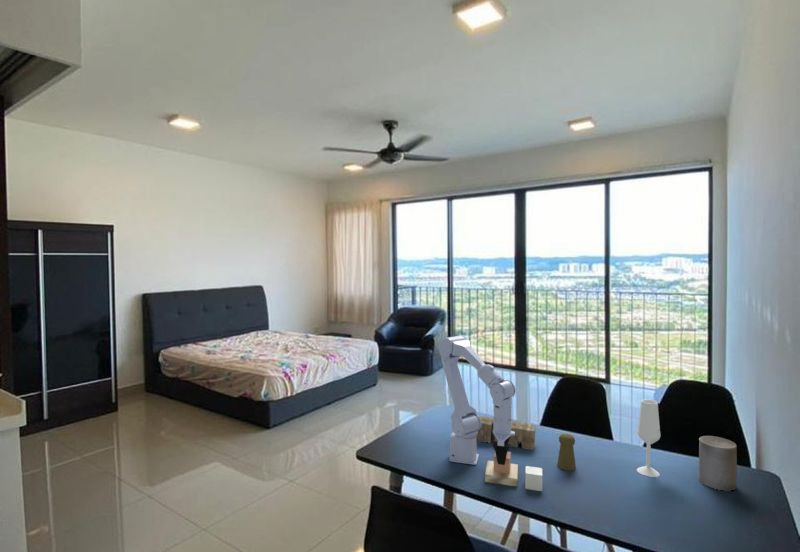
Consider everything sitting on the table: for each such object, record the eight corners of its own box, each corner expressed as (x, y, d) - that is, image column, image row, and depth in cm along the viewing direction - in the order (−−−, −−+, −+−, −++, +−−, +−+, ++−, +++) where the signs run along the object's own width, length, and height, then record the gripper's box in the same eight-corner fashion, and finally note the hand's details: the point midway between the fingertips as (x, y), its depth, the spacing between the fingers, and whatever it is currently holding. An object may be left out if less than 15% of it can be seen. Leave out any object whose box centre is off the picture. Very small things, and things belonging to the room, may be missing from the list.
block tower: (535, 445, 166) (462, 431, 177) (536, 424, 166) (463, 411, 177) (533, 453, 159) (457, 438, 170) (534, 431, 158) (458, 417, 170)
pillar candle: (729, 479, 138) (729, 433, 138) (742, 494, 129) (742, 445, 128) (694, 474, 141) (694, 430, 141) (704, 489, 132) (704, 441, 132)
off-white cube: (525, 488, 132) (525, 473, 131) (525, 481, 136) (525, 465, 136) (542, 491, 130) (542, 475, 130) (541, 483, 135) (542, 468, 135)
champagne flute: (658, 469, 144) (659, 400, 143) (661, 478, 138) (662, 406, 137) (635, 465, 147) (637, 397, 146) (637, 474, 141) (638, 403, 140)
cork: (577, 471, 143) (578, 439, 142) (558, 469, 144) (559, 437, 144) (574, 463, 149) (574, 432, 148) (555, 461, 150) (556, 430, 150)
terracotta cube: (493, 471, 137) (493, 456, 137) (495, 464, 142) (495, 449, 142) (509, 474, 136) (509, 458, 136) (510, 466, 140) (510, 452, 140)
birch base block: (484, 483, 136) (485, 474, 136) (487, 468, 145) (487, 460, 145) (517, 488, 133) (517, 478, 133) (517, 473, 142) (517, 464, 142)
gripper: (514, 427, 130) (513, 470, 131) (515, 411, 144) (515, 451, 145) (490, 424, 133) (490, 467, 133) (494, 409, 146) (494, 448, 147)
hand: (502, 458), depth 139 cm, fingers open, 7 cm apart
